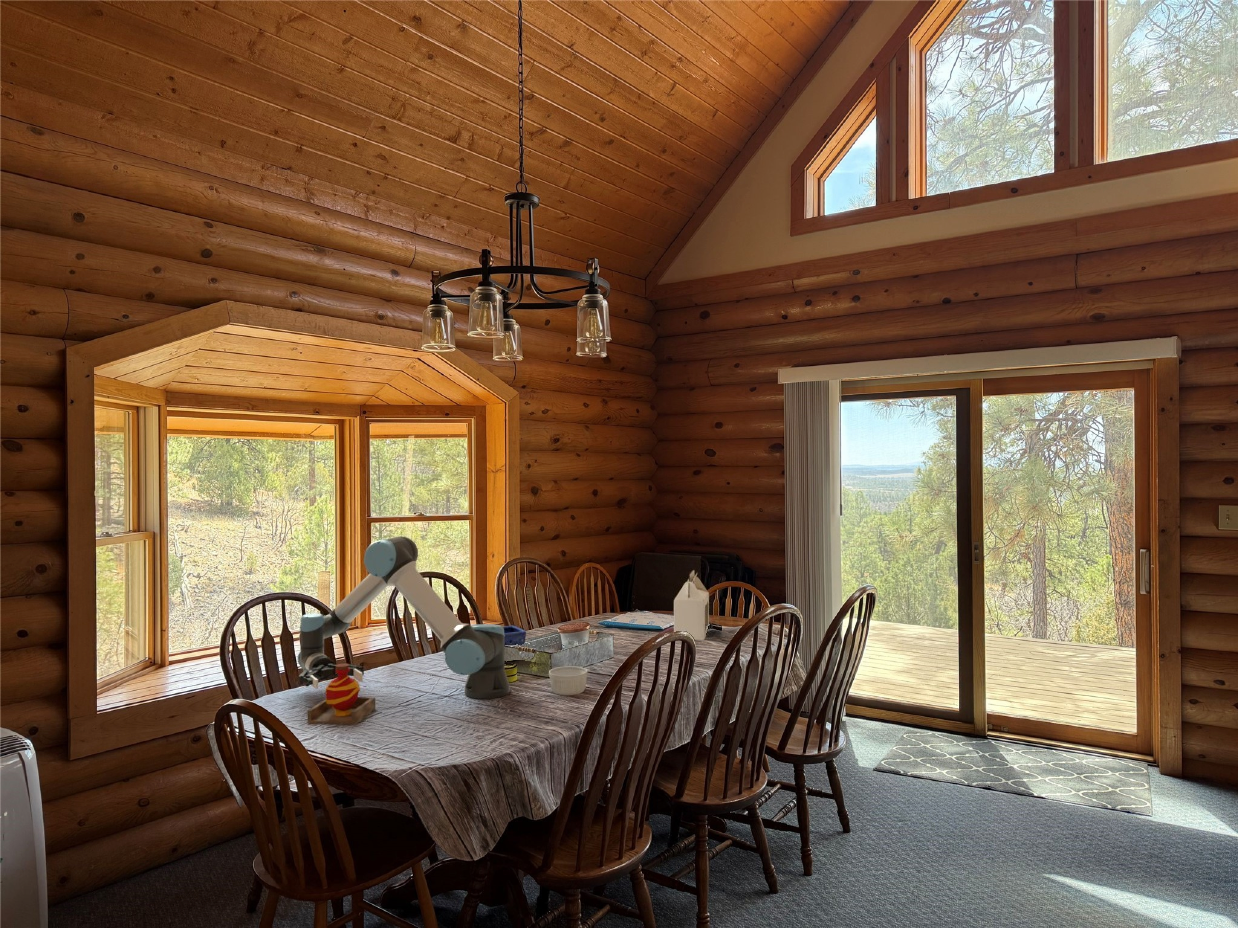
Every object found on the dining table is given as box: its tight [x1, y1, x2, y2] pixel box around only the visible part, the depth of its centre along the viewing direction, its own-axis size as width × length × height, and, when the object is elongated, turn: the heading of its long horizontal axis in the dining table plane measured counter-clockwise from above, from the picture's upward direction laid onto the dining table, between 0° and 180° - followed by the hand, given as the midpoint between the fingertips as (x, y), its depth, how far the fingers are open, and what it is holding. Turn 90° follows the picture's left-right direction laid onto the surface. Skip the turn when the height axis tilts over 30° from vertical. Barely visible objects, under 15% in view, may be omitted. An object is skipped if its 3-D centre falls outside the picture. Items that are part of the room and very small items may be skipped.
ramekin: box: [548, 665, 588, 696], centre depth 282 cm, size 13×13×7 cm
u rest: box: [306, 696, 376, 726], centre depth 254 cm, size 15×15×4 cm
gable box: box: [673, 569, 710, 641], centre depth 370 cm, size 22×13×28 cm, turn 168°
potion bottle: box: [325, 662, 361, 716], centre depth 255 cm, size 10×10×15 cm
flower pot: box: [502, 625, 527, 647], centre depth 325 cm, size 13×13×12 cm
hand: (339, 680), depth 255 cm, fingers open, 13 cm apart
